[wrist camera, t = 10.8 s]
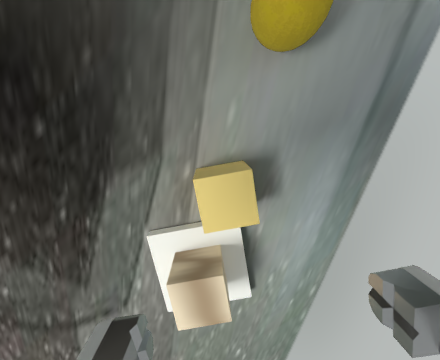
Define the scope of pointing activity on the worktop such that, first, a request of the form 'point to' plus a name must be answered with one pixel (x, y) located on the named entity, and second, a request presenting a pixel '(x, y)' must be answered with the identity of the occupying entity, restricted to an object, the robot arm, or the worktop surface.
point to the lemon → (287, 21)
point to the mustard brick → (226, 196)
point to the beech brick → (199, 288)
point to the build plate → (193, 239)
